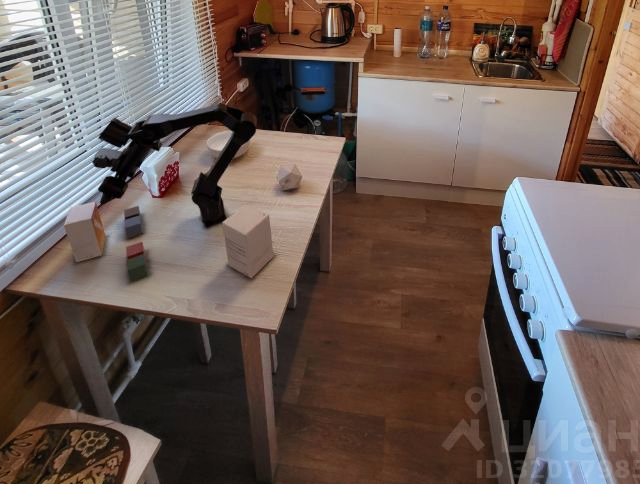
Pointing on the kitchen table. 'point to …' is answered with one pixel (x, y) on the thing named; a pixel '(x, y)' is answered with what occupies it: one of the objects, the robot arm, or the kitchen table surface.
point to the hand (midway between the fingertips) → (107, 193)
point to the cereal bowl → (223, 144)
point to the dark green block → (137, 267)
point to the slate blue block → (133, 226)
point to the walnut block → (132, 213)
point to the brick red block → (135, 250)
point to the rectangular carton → (248, 240)
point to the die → (289, 177)
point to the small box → (85, 231)
